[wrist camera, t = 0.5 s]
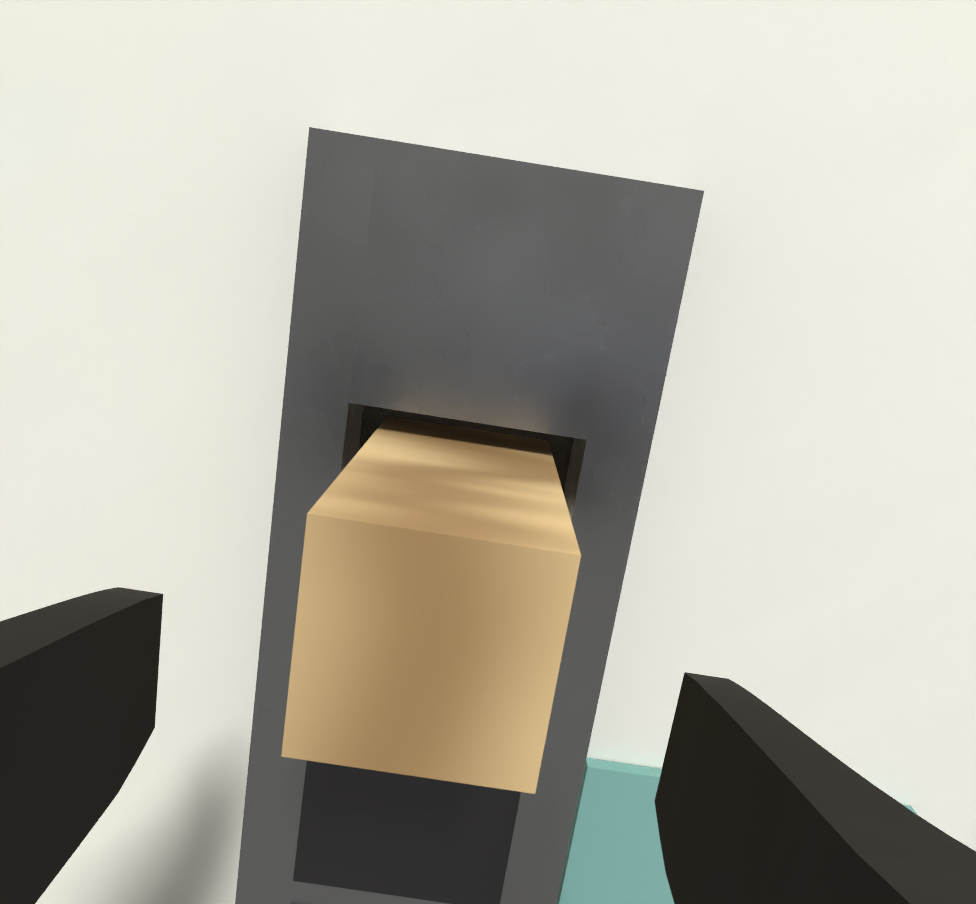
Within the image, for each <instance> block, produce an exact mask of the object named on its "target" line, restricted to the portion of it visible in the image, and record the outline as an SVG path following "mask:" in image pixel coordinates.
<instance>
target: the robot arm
mask: <svg viewBox="0 0 976 904" xmlns="http://www.w3.org/2000/svg"><path fill="white" fill-rule="evenodd" d="M162 603H163V594H159V593H153V592H146V591H139V590H133V589H126V588H119V587H118V588H112V589H107V590H102V591H98V592H94V593H90V594H87V595H83V596H80V597H76V598H73V599H70V600H66V601H63V602H60V603H57V604H54V605H50V606H47V607H44V608H41V609H38V610H35V611H32V612H29V613H25V614H22V615H19V616H16V617H13V618H10V619H7V620H4V621H1V622H0V904H35V903H36V902H37V900H38V899H39V898H40V896H41V895H42V894H43V892H44V891H45V890H46V888H47V887H48V886H49V884H50V883H51V882H52V881H53V879H54V878H55V877H56V875H57V874H58V873H59V871H60V870H61V869H62V867H63V866H64V865H65V863H66V862H67V861H68V859H69V858H70V857H71V856H72V854H73V853H74V852H75V850H76V849H77V848H78V846H79V845H80V844H81V842H82V841H83V840H84V838H85V837H86V836H87V834H88V833H89V832H90V830H91V829H92V828H93V826H94V825H95V823H96V822H97V821H98V819H99V818H100V817H101V815H102V814H103V813H104V811H105V810H106V809H107V807H108V806H109V805H110V803H111V802H112V800H113V799H114V798H115V796H116V795H117V794H118V792H119V790H120V789H121V787H122V785H123V783H124V782H125V780H126V778H127V777H128V775H129V773H130V772H131V770H132V768H133V766H134V765H135V763H136V761H137V759H138V757H139V756H140V754H141V752H142V750H143V748H144V746H145V745H146V743H147V741H148V739H149V737H150V735H151V733H152V732H153V730H154V728H155V713H156V697H157V682H158V666H159V650H160V634H161V619H162ZM655 808H656V815H657V822H658V829H659V836H660V843H661V849H662V854H663V860H664V866H665V872H666V876H667V879H668V883H669V886H670V890H671V893H672V897H673V900H674V904H976V851H974V850H972V849H971V848H969V847H967V846H966V845H964V844H962V843H961V842H959V841H957V840H956V839H954V838H952V837H951V836H949V835H947V834H946V833H944V832H943V831H941V830H940V829H938V828H936V827H935V826H933V825H932V824H930V823H929V822H927V821H926V820H924V819H922V818H921V817H919V816H918V815H916V814H915V813H914V812H912V811H911V810H909V809H908V808H906V807H905V806H903V805H902V804H900V803H899V802H898V801H896V800H895V799H893V798H892V797H890V796H889V795H887V794H886V793H885V792H883V791H882V790H880V789H879V788H877V787H876V786H874V785H873V784H872V783H870V782H869V781H867V780H866V779H865V778H863V777H862V776H860V775H859V774H858V773H856V772H855V771H854V770H852V769H851V768H849V767H848V766H847V765H845V764H844V763H843V762H841V761H840V760H839V759H837V758H836V757H835V756H833V755H832V754H831V753H829V752H828V751H827V750H825V749H824V748H823V747H821V746H820V745H819V744H817V743H816V742H815V741H814V740H812V739H811V738H810V737H808V736H807V735H806V734H804V733H803V732H802V731H801V730H799V729H798V728H797V727H795V726H794V725H793V724H791V723H790V722H789V721H788V720H786V719H785V718H784V717H782V716H781V715H780V714H778V713H777V712H776V711H774V710H773V709H772V708H771V707H769V706H768V705H767V704H765V703H764V702H762V701H761V700H760V699H758V698H757V697H756V696H754V695H753V694H751V693H750V692H749V691H747V690H746V689H744V688H743V687H741V686H740V685H738V684H736V683H735V682H733V681H731V680H729V679H725V678H719V677H712V676H705V675H699V674H692V673H684V677H683V682H682V686H681V690H680V694H679V699H678V703H677V707H676V711H675V716H674V720H673V724H672V729H671V733H670V737H669V741H668V746H667V750H666V754H665V758H664V763H663V767H662V771H661V776H660V780H659V784H658V788H657V793H656V797H655Z"/></svg>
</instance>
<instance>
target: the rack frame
mask: <svg viewBox="0 0 976 904" xmlns="http://www.w3.org/2000/svg"><path fill="white" fill-rule="evenodd" d="M703 194H704V191H701V190H695V189H688V188H682V187H676V186H670V185H664V184H657V183H651V182H645V181H639V180H633V179H626V178H620V177H614V176H608V175H602V174H596V173H589V172H583V171H577V170H571V169H565V168H558V167H552V166H546V165H540V164H534V163H527V162H521V161H515V160H509V159H503V158H496V157H490V156H484V155H478V154H472V153H465V152H459V151H453V150H447V149H441V148H434V147H428V146H422V145H416V144H410V143H403V142H397V141H391V140H385V139H379V138H373V137H366V136H360V135H354V134H348V133H342V132H335V131H329V130H323V129H317V128H311V127H309V137H308V147H307V158H306V168H305V179H304V189H303V200H302V210H301V221H300V231H299V242H298V252H297V263H296V273H295V284H294V294H293V304H292V315H291V325H290V336H289V346H288V357H287V367H286V378H285V388H284V399H283V409H282V420H281V430H280V441H279V451H278V462H277V472H276V483H275V493H274V504H273V514H272V525H271V535H270V546H269V556H268V566H267V577H266V587H265V598H264V608H263V619H262V629H261V640H260V650H259V661H258V671H257V682H256V692H255V703H254V713H253V724H252V734H251V745H250V755H249V766H248V776H247V787H246V797H245V808H244V818H243V828H242V839H241V849H240V860H239V870H238V881H237V891H236V902H235V904H556V901H557V896H558V891H559V886H560V882H561V877H562V872H563V867H564V862H565V858H566V853H567V848H568V843H569V838H570V834H571V829H572V824H573V819H574V814H575V809H576V805H577V800H578V795H579V790H580V785H581V781H582V776H583V771H584V766H585V761H586V757H587V752H588V747H589V742H590V737H591V732H592V728H593V723H594V718H595V713H596V708H597V704H598V699H599V694H600V689H601V684H602V680H603V675H604V670H605V665H606V660H607V655H608V651H609V646H610V641H611V636H612V631H613V627H614V622H615V617H616V612H617V607H618V603H619V598H620V593H621V588H622V583H623V578H624V574H625V569H626V564H627V559H628V554H629V550H630V545H631V540H632V535H633V530H634V526H635V521H636V516H637V511H638V506H639V501H640V497H641V492H642V487H643V482H644V477H645V473H646V468H647V463H648V458H649V453H650V449H651V444H652V439H653V434H654V429H655V425H656V420H657V415H658V410H659V405H660V400H661V396H662V391H663V386H664V381H665V376H666V372H667V367H668V362H669V357H670V352H671V348H672V343H673V338H674V333H675V328H676V323H677V319H678V314H679V309H680V304H681V299H682V295H683V290H684V285H685V280H686V275H687V271H688V266H689V261H690V256H691V251H692V246H693V242H694V237H695V232H696V227H697V222H698V218H699V213H700V208H701V203H702V198H703ZM364 405H366V406H372V407H379V408H385V409H392V410H398V411H404V412H411V413H417V414H424V415H430V416H437V417H443V418H449V419H456V420H462V421H469V422H475V423H482V424H488V425H494V426H501V427H507V428H514V429H520V430H527V431H533V432H539V433H546V434H552V435H559V436H565V437H572V438H574V440H573V445H572V451H571V456H570V462H569V467H568V472H567V478H566V483H565V489H564V497H565V501H566V504H567V508H568V511H569V515H570V518H571V522H572V525H573V529H574V532H575V536H576V539H577V543H578V546H579V550H580V553H581V559H580V564H579V569H578V574H577V580H576V585H575V590H574V595H573V600H572V605H571V611H570V616H569V621H568V626H567V631H566V637H565V642H564V647H563V652H562V657H561V662H560V668H559V673H558V678H557V683H556V688H555V694H554V699H553V704H552V709H551V714H550V720H549V725H548V730H547V735H546V740H545V745H544V751H543V756H542V761H541V766H540V771H539V777H538V782H537V787H536V792H535V794H532V793H525V792H518V791H511V790H505V789H498V788H491V787H484V786H477V785H471V784H464V783H457V782H450V781H443V780H437V779H430V778H423V777H416V776H410V775H403V774H396V773H389V772H382V771H376V770H369V769H362V768H355V767H349V766H342V765H335V764H328V763H321V762H315V761H308V760H301V759H294V758H288V757H281V755H282V745H283V736H284V726H285V717H286V708H287V698H288V689H289V679H290V670H291V660H292V651H293V642H294V632H295V623H296V613H297V604H298V595H299V585H300V576H301V566H302V557H303V548H304V538H305V529H306V519H307V513H308V512H309V511H310V509H311V508H312V507H313V506H314V505H315V503H316V502H317V501H318V500H319V499H320V497H321V496H322V495H323V494H324V492H325V491H326V490H327V489H328V488H329V486H330V485H331V484H332V483H333V482H334V480H335V479H336V478H337V477H338V476H339V474H340V473H341V472H342V471H343V470H344V468H345V467H346V466H347V465H348V463H349V462H350V461H351V460H352V459H353V457H354V456H355V455H356V454H357V453H358V451H359V445H360V437H361V428H362V420H363V412H364Z"/></svg>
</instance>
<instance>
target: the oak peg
mask: <svg viewBox="0 0 976 904" xmlns="http://www.w3.org/2000/svg"><path fill="white" fill-rule="evenodd" d="M580 559H581V553H580V550H579V546H578V543H577V539H576V536H575V532H574V529H573V525H572V522H571V518H570V515H569V511H568V508H567V504H566V501H565V497H564V494H563V490H562V487H561V483H560V480H559V476H558V473H557V469H556V466H555V462H554V459H553V455H552V451H551V448H550V444H549V441H547V440H540V439H534V438H528V437H521V436H515V435H508V434H502V433H495V432H489V431H483V430H476V429H470V428H463V427H457V426H450V425H444V424H438V423H431V422H425V421H418V420H412V419H405V418H399V417H392V416H387V418H386V419H385V420H384V421H383V422H382V424H381V425H380V426H379V427H378V428H377V430H376V431H375V432H374V433H373V434H372V436H371V437H370V438H369V439H368V440H367V442H366V443H365V444H364V445H363V447H362V448H361V449H360V450H359V451H358V453H357V454H356V455H355V456H354V457H353V459H352V460H351V461H350V462H349V463H348V465H347V466H346V467H345V468H344V470H343V471H342V472H341V473H340V474H339V476H338V477H337V478H336V479H335V480H334V482H333V483H332V484H331V485H330V486H329V488H328V489H327V490H326V491H325V492H324V494H323V495H322V496H321V497H320V499H319V500H318V501H317V502H316V503H315V505H314V506H313V507H312V508H311V509H310V511H309V512H308V513H307V519H306V529H305V538H304V548H303V557H302V566H301V576H300V585H299V595H298V604H297V613H296V623H295V632H294V642H293V651H292V660H291V670H290V679H289V689H288V698H287V708H286V717H285V726H284V736H283V745H282V755H281V757H288V758H294V759H301V760H308V761H315V762H321V763H328V764H335V765H342V766H349V767H355V768H362V769H369V770H376V771H382V772H389V773H396V774H403V775H410V776H416V777H423V778H430V779H437V780H443V781H450V782H457V783H464V784H471V785H477V786H484V787H491V788H498V789H505V790H511V791H518V792H525V793H532V794H535V792H536V787H537V782H538V777H539V771H540V766H541V761H542V756H543V751H544V745H545V740H546V735H547V730H548V725H549V720H550V714H551V709H552V704H553V699H554V694H555V688H556V683H557V678H558V673H559V668H560V662H561V657H562V652H563V647H564V642H565V637H566V631H567V626H568V621H569V616H570V611H571V605H572V600H573V595H574V590H575V585H576V580H577V574H578V569H579V564H580Z"/></svg>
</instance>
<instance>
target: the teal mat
mask: <svg viewBox="0 0 976 904" xmlns="http://www.w3.org/2000/svg"><path fill="white" fill-rule="evenodd" d="M661 771H662V769H659V768H652V767H645V766H639V765H632V764H625V763H618V762H612V761H605V760H598V759H591V758H586V761H585V766H584V771H583V776H582V781H581V785H580V790H579V795H578V800H577V805H576V809H575V814H574V819H573V824H572V829H571V834H570V838H569V843H568V848H567V853H566V858H565V862H564V867H563V872H562V877H561V882H560V886H559V891H558V896H557V901H556V904H674V900H673V897H672V893H671V890H670V886H669V883H668V879H667V876H666V872H665V866H664V860H663V854H662V849H661V843H660V836H659V829H658V822H657V815H656V808H655V797H656V793H657V788H658V784H659V780H660V776H661ZM903 806H905V807H906V808H908V809H909V810H911V811H912V812H914V813H915V814H916V812H915V811H914V810H913V808H912V807H911V806H908V805H903ZM916 815H917V814H916Z"/></svg>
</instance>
